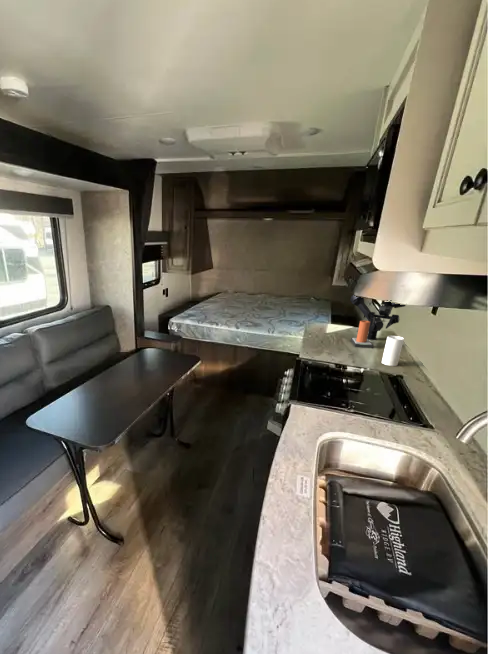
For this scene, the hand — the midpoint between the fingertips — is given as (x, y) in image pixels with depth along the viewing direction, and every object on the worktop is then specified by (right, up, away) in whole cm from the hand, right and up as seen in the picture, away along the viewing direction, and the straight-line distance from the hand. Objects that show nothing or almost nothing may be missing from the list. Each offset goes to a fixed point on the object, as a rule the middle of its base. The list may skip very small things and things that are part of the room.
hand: (378, 327), depth 222 cm
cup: (-9, -25, -27) cm, 38 cm away
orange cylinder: (-9, -9, +6) cm, 14 cm away
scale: (-7, -11, +8) cm, 16 cm away
